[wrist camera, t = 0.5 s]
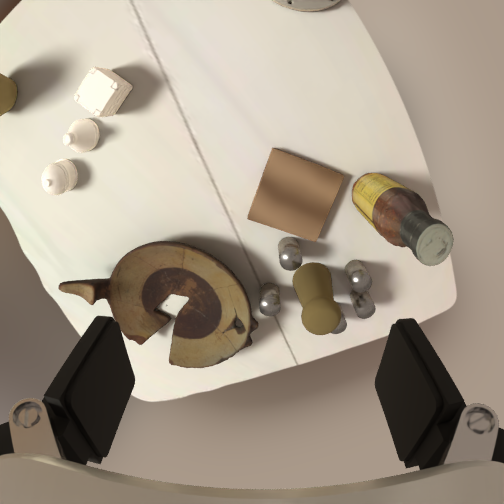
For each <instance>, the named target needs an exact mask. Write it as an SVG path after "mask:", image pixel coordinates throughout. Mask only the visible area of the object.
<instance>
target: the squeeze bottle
mask: <svg viewBox="0 0 504 504" xmlns="http://www.w3.org/2000/svg"><path fill="white" fill-rule="evenodd" d="M16 98H17V86H16V84H15V82H14V81H13V80H11V79H10V78H8V77H6V76H4V75H2V74H0V116H1V115H3V114H4V113H6V112H7V111H9V110H10V109H11V108H12V107H13V105H14V103H15V101H16Z"/></svg>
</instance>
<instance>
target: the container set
mask: <svg viewBox="0 0 504 504" xmlns="http://www.w3.org/2000/svg"><path fill="white" fill-rule="evenodd" d="M132 87H133V86H132V85H131V84H129V83H128V82H127V81H125V80H124V79H123V78H121V77H120V76H118V75H117V74H115V73H114V72H112V71H111V70H109V69H105V68H99V67H93V68H92V69H90V72H89V73H88V74H87V76H86V77H85V79H84V81H83V82H82V84H81V85H80V87H79V89H78V90H77V92H76V94H75V95H74V99H75V101H77V102H78V103H79V104H80V105H82V106H83V107H84V108H86V109H87V110H88V111H90V112H91V113H92V114H94V115H95V116H97V117H107V116H113V115H114V114H115V113H116V112H117V110H118V109H119V107H120V106H121V104H122V103H123V101H124V100H125V98H126V97H127V96H128V94H129V93H130V91H131V90H132ZM99 137H100V131H99V128H98V125H97V124H96V123H95V122H94V121H93V120H91V119H80V120H77V121H75V122H74V123H73V124H72V125H71V127H70V129H69V131H68V133H66V134H65V135H64V137H63V142H64V144H65V145H67V146H69V145H70V147H71V148H72V149H73V150H74V151H76V152H78V153H84V152H87V151H90V150H92V149H93V148H94V147H95V146H96V145H97V143H98V141H99ZM77 179H78V173H77V169H76V167H75V165H74V164H73V163H72V162H71V161H70V160H68V159H60V160H58V161H57V162H55V163H52V164H50V165H49V166H48V167H47V168H46V169H45V170H44V172H43V175H42V185H43V187H44V189H45V190H46V191H47V192H48V193H50V194H52V195H60V194H62V193H64V192H67V191H70V190H72V189H73V188H74V187H75V185H76V183H77Z"/></svg>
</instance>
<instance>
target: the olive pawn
mask: <svg viewBox="0 0 504 504" xmlns="http://www.w3.org/2000/svg"><path fill="white" fill-rule="evenodd" d="M292 282H293V286H294V289H295V291H296V293H297V296H298V298H299V300H300V303H301V305H302V307H303V310H302V315H301V317H302V323H303V325H304V327H305V328H306V330H308V331H309V332H311V333H313V334H316V335H325V334H328V333H331V332H332V331H334V330H335V329H336V328H337V326H338V325H339V323H340V321H341V309H340V307H339V305H338V304H337V302H336V301H334V298H333V289H332V280H331V273H330V271H329V270H328V268H327V267H325V266H324V265H322V264H320V263H313V262H312V263H307V264H305V265H303V266H301V267H300V268H299V269H298V270H296V272H295V274H294V276H293V281H292Z"/></svg>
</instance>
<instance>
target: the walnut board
mask: <svg viewBox="0 0 504 504" xmlns="http://www.w3.org/2000/svg"><path fill="white" fill-rule="evenodd" d="M343 178H344V176H343V175H342V174H340V173H338V172H335V171H333V170H330V169H328V168H325V167H323V166H320V165H318V164H315V163H313V162H310V161H307V160H305V159H302V158H300V157H297V156H294V155H291V154H289V153H286V152H283V151H280V150H278V149H275V148H272V150H271V153H270V156H269V159H268V161H267V164H266V167H265V170H264V172H263V175H262V178H261V181H260V183H259V186H258V189H257V192H256V194H255V197H254V200H253V203H252V206H251V208H250V211H249V214H248V219H249V220H252V221H255V222H258V223H261V224H264V225H267V226H270V227H273V228H276V229H279V230H282V231H285V232H288V233H291V234H294V235H297V236H299V237H302V238H305V239H308V240H311V241H314V242H316V241H317V238H318V236H319V234H320V232H321V229H322V227H323V225H324V223H325V220H326V218H327V216H328V213H329V211H330V209H331V207H332V204H333V202H334V200H335V197H336V195H337V193H338V190H339V188H340V185H341V183H342V181H343Z"/></svg>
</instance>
